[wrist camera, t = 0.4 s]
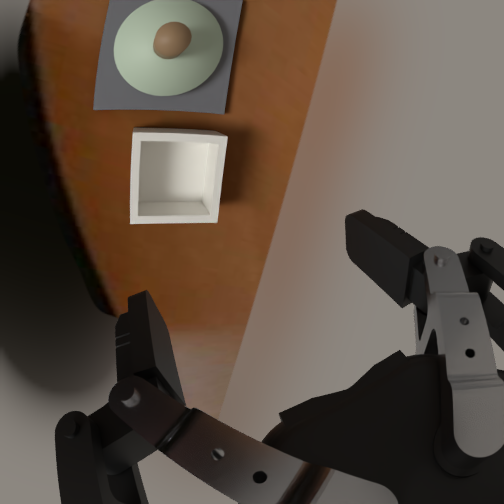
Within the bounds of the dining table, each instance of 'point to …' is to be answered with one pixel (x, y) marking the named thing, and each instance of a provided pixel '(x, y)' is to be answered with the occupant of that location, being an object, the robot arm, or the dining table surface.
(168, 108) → the mat
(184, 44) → the lid
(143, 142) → the open box
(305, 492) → the robot arm
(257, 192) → the dining table surface
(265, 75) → the dining table surface
